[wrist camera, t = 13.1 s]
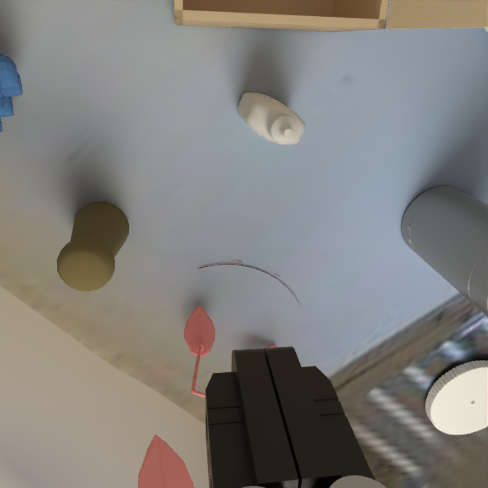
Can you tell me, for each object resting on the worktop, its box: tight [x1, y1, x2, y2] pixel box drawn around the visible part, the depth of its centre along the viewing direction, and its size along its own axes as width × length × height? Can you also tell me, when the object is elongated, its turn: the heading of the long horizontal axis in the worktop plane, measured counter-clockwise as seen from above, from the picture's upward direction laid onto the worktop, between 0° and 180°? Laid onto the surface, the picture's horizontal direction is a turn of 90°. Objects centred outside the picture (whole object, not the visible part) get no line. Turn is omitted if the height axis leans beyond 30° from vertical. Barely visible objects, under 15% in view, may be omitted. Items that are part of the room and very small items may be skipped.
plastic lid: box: [425, 360, 488, 435], centre depth 68 cm, size 14×14×2 cm
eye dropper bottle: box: [237, 92, 305, 145], centre depth 41 cm, size 4×6×12 cm
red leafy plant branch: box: [138, 261, 290, 488], centre depth 42 cm, size 15×26×35 cm, turn 50°
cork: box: [57, 202, 129, 291], centre depth 44 cm, size 6×6×11 cm
